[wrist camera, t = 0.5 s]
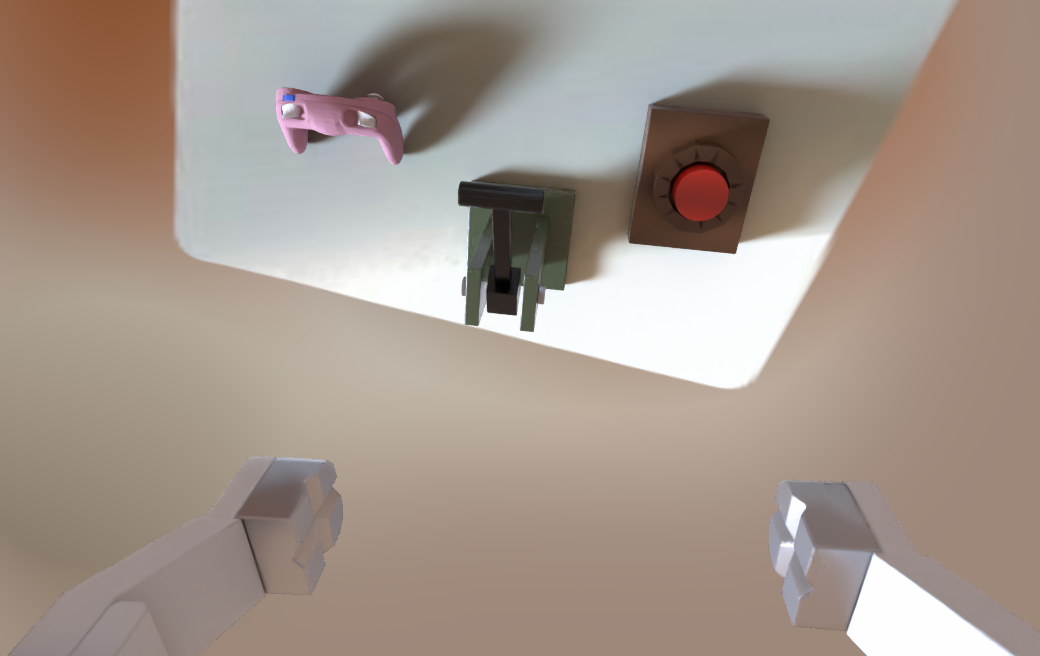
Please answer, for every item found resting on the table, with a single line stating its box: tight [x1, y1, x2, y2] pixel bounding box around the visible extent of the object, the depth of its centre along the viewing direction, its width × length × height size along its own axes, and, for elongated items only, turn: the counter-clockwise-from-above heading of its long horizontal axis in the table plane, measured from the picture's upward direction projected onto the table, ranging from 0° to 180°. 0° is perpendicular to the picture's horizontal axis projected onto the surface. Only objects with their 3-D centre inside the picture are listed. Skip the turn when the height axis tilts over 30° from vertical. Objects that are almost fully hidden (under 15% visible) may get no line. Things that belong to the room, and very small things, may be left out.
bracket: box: [462, 181, 575, 332], centre depth 50 cm, size 9×9×14 cm
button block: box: [628, 104, 769, 254], centre depth 51 cm, size 11×9×4 cm
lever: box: [458, 181, 545, 316], centre depth 42 cm, size 12×5×2 cm
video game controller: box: [275, 88, 404, 165], centre depth 50 cm, size 10×5×7 cm, turn 85°
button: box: [672, 164, 729, 221], centre depth 48 cm, size 4×4×2 cm
